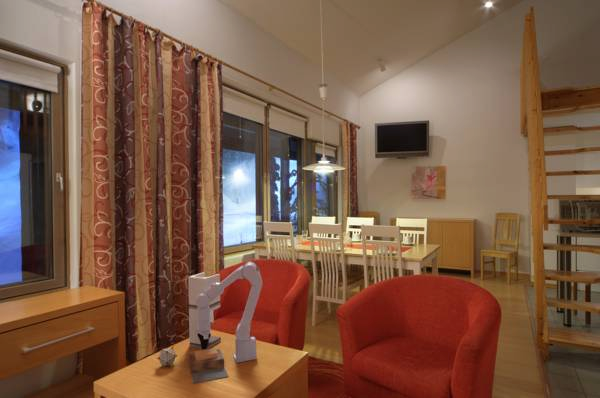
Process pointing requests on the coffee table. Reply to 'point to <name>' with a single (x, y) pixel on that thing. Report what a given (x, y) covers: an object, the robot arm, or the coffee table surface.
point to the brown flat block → (206, 362)
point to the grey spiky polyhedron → (167, 357)
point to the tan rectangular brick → (205, 354)
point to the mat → (209, 375)
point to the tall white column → (195, 289)
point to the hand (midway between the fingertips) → (204, 349)
